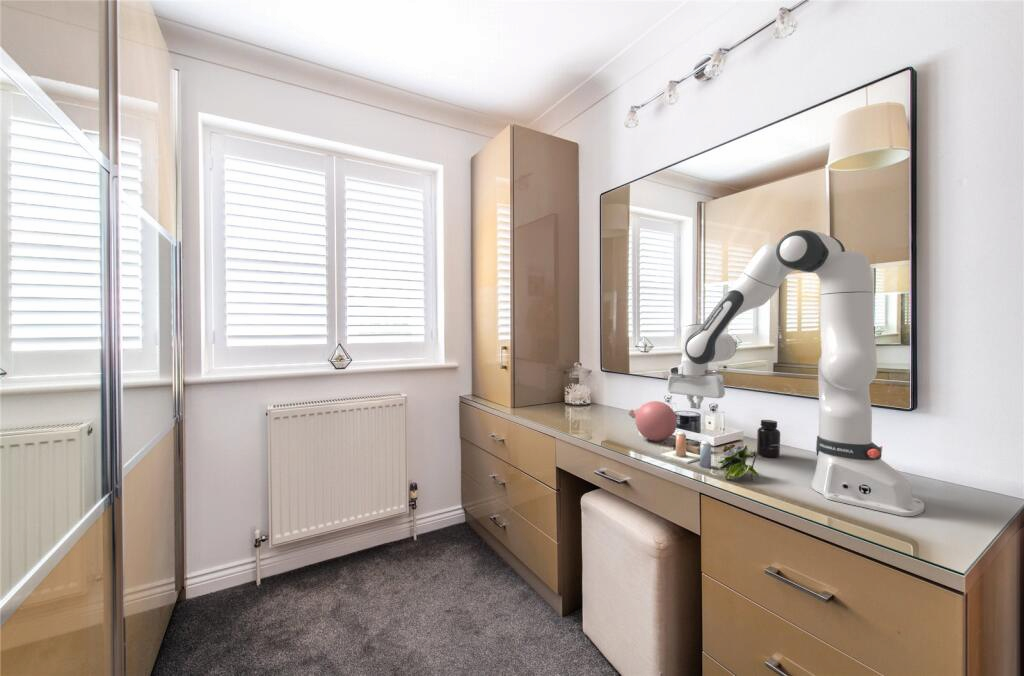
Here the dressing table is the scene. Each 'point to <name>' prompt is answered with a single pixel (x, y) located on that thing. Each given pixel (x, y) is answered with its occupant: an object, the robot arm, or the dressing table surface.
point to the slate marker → (705, 454)
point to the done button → (693, 443)
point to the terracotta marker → (680, 444)
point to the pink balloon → (655, 420)
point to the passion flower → (737, 461)
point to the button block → (693, 448)
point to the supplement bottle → (768, 439)
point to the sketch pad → (688, 459)
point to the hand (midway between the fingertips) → (695, 408)
